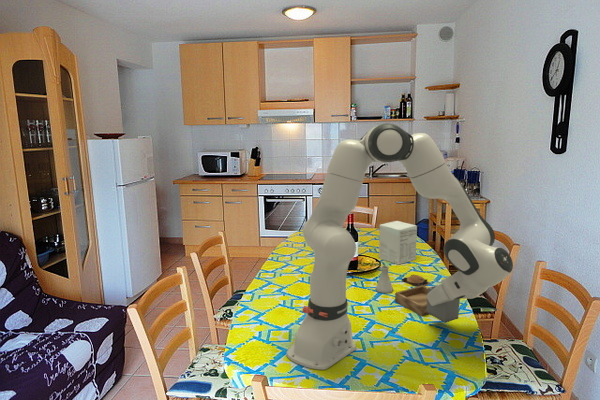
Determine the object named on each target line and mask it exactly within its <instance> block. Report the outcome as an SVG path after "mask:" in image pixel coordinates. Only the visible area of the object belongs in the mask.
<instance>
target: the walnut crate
mask: <svg viewBox="0 0 600 400" xmlns="http://www.w3.org/2000/svg"><path fill="white" fill-rule="evenodd" d="M394 293H395V294H394V297H395V298H394V301H395V303H397V304H398V305H401V306H403V307H404V308H406V309H408V310H410V311H411V312H413V313H416V314H417V315H418V316H420V317H424V316H427V315H429V314H428V313H427V294H428V287H427V286H423V285H421V286H418V287H416V286H413V287H410V288H409V289H408V288H407V289H404V290H401V291H397V292H394Z"/></svg>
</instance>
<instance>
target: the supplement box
mask: <svg viewBox="0 0 600 400" xmlns="http://www.w3.org/2000/svg"><path fill="white" fill-rule="evenodd" d="M417 232H418V225H415V224H412V223H408V222H403V221H400V220H394V221H390V222H386V223H385V222H384V223H382V224H379V237H378V238H379V239H378V241H379V244H378V246H379V248H378V251H379V252H378V258H379V259H381V260H384V261H387V262H389V263H393V264H395V265H402V264H406V263H408V262H412V261H414V260H415V261H416V259H417V237H418V235H417V234H418V233H417Z"/></svg>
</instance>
